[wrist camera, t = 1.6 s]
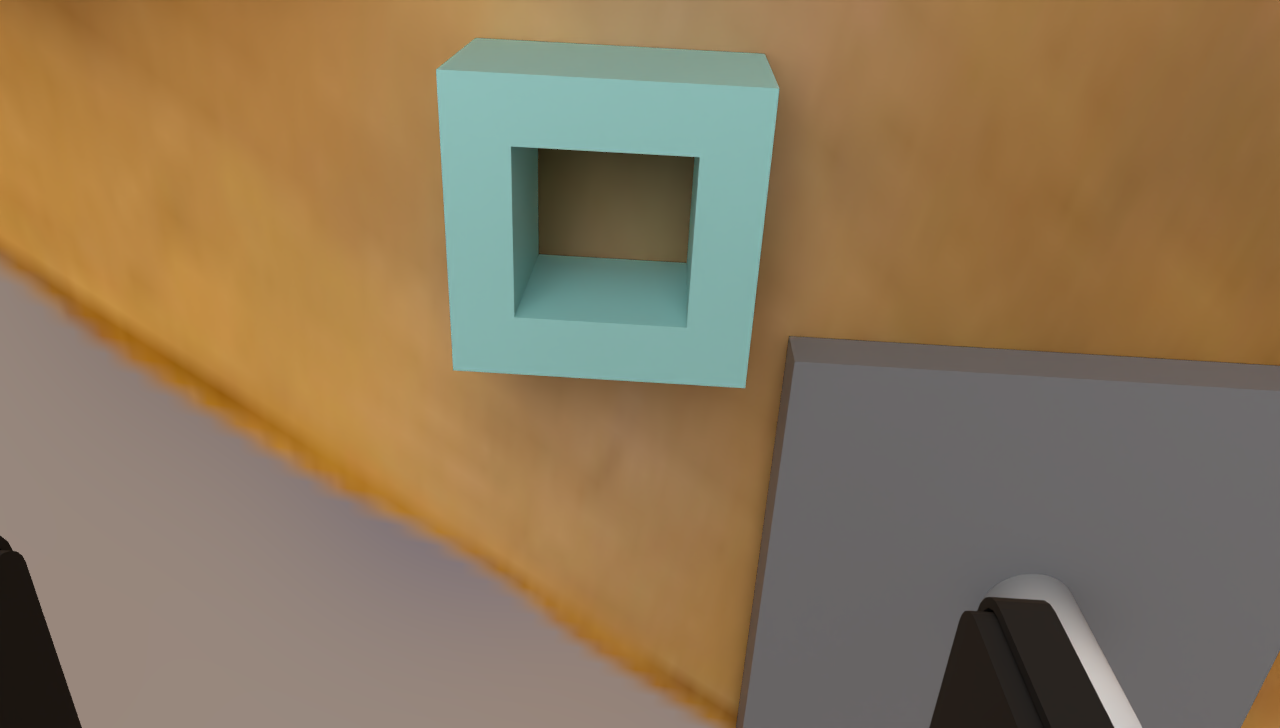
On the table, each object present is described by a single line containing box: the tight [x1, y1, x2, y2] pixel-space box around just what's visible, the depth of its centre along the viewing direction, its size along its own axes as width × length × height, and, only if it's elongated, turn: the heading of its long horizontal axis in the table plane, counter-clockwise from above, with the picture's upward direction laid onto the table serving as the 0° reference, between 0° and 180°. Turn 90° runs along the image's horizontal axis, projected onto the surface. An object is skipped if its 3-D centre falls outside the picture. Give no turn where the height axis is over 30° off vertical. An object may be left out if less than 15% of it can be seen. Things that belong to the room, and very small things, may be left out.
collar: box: [436, 38, 779, 388], centre depth 22 cm, size 7×7×4 cm
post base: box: [736, 336, 1280, 728], centre depth 26 cm, size 16×16×7 cm
